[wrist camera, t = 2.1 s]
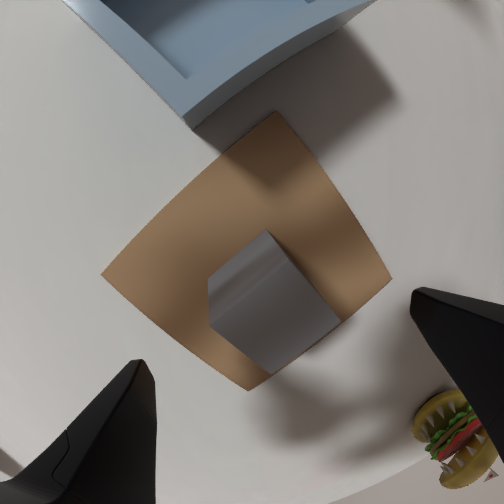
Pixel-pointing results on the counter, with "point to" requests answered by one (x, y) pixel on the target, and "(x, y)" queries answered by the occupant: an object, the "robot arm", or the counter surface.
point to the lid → (252, 258)
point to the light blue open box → (209, 42)
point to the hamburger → (455, 439)
